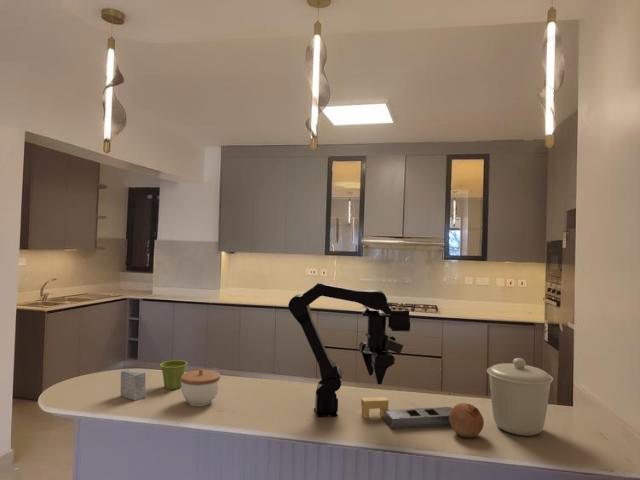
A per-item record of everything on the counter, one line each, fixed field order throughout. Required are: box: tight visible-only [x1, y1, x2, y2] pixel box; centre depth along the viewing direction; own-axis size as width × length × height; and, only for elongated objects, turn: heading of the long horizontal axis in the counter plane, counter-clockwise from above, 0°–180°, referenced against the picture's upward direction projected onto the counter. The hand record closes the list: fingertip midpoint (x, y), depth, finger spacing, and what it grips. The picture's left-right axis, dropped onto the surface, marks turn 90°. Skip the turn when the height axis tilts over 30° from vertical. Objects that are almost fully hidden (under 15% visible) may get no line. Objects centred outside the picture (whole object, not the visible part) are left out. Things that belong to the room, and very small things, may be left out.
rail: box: [383, 406, 453, 430], centre depth 136 cm, size 22×7×3 cm, turn 100°
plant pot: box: [159, 359, 188, 391], centre depth 163 cm, size 9×9×9 cm
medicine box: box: [120, 368, 147, 401], centre depth 152 cm, size 8×4×9 cm, turn 58°
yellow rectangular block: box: [360, 396, 389, 419], centre depth 140 cm, size 8×3×5 cm, turn 100°
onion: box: [449, 402, 485, 438], centre depth 128 cm, size 10×9×10 cm
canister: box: [486, 357, 554, 437], centre depth 133 cm, size 18×18×21 cm
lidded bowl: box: [181, 368, 221, 407], centre depth 148 cm, size 13×13×11 cm
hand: (375, 379), depth 141 cm, fingers open, 9 cm apart
